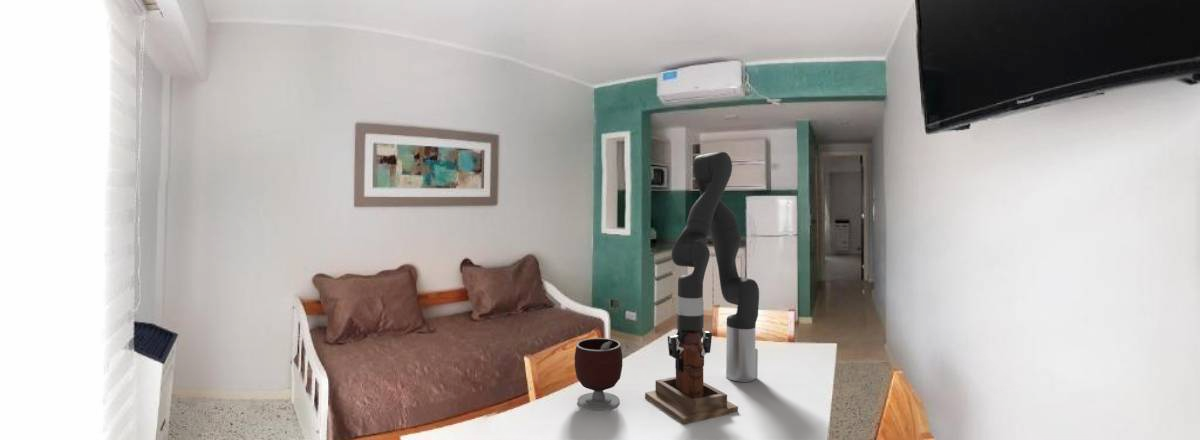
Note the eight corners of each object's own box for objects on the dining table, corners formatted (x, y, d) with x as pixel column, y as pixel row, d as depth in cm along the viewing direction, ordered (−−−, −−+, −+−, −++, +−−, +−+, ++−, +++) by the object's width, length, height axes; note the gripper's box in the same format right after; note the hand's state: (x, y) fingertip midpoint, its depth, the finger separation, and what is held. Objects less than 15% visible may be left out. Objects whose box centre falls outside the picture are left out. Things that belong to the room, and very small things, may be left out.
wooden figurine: (709, 399, 139) (710, 334, 139) (688, 401, 138) (689, 336, 137) (690, 384, 151) (691, 324, 150) (670, 386, 149) (671, 326, 148)
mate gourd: (568, 397, 150) (567, 330, 149) (610, 390, 155) (610, 326, 154) (587, 417, 135) (587, 344, 135) (633, 409, 141) (633, 338, 140)
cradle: (694, 387, 157) (695, 371, 157) (738, 411, 139) (738, 394, 139) (645, 397, 149) (645, 380, 149) (683, 424, 131) (683, 405, 131)
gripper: (702, 307, 150) (702, 362, 150) (661, 311, 144) (661, 369, 144) (718, 312, 143) (718, 370, 144) (676, 317, 137) (676, 377, 137)
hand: (689, 369), depth 144 cm, fingers closed on wooden figurine, 6 cm apart
